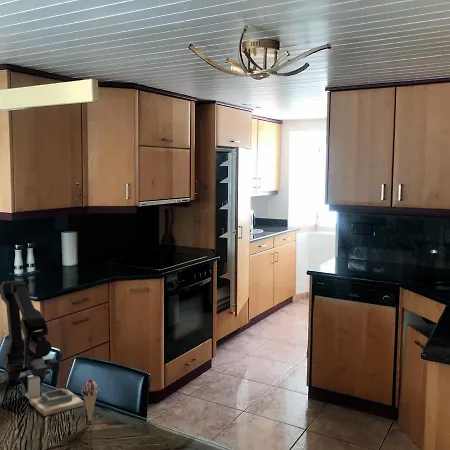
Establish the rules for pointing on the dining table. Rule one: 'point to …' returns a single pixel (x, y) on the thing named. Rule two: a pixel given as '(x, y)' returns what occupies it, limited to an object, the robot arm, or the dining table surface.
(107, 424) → the dining table surface
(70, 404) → the socket holder
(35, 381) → the connector plug
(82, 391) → the ice cream cone
